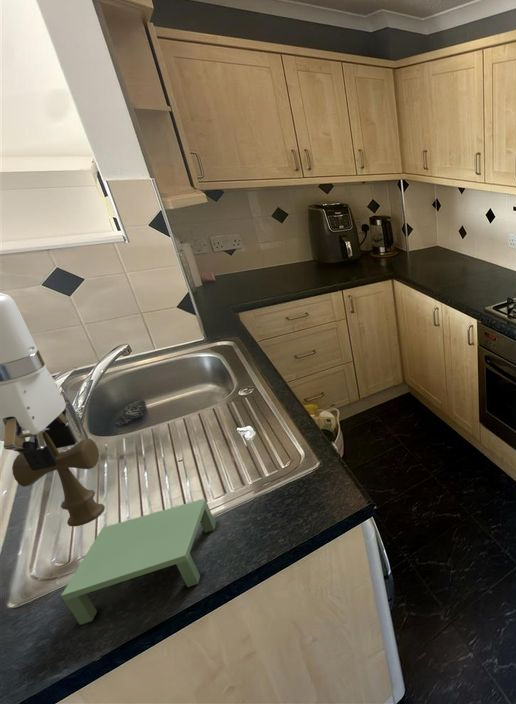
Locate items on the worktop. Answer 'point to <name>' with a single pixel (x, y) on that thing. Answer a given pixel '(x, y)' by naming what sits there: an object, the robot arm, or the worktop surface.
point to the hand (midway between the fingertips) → (55, 455)
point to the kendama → (67, 479)
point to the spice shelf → (138, 553)
